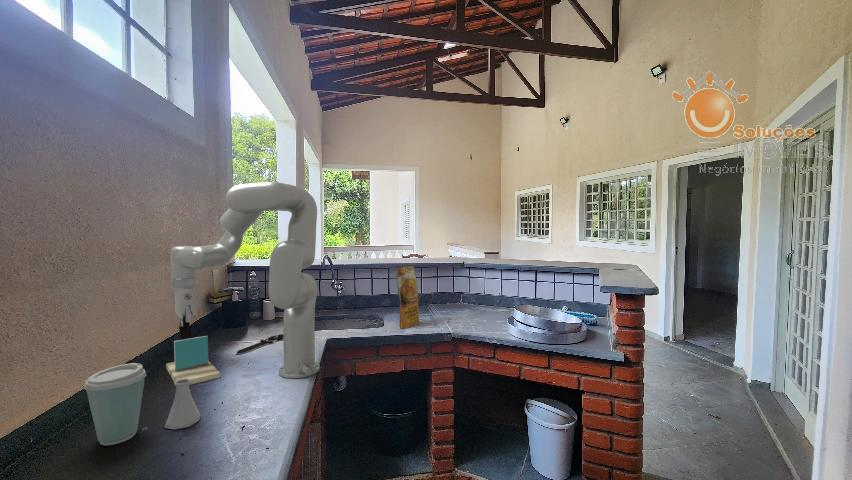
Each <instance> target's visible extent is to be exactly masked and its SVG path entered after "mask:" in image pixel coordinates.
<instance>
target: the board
mask: <svg viewBox="0 0 852 480" xmlns="http://www.w3.org/2000/svg"><path fill="white" fill-rule="evenodd" d="M165 368H166V370H167V372H168V374H169V376H170V377H171V379H172V381H173V382H174V383H175V381H177V380H180V379H186V378H187V379H191V381H190V383H189V386H191V385H195V384H201V383H203V382H208V381H212V380H216V379H220V378H221V373H220V371H219V370H218V369H217V368H216V367H215V366H214V365H213V364H212V363H211V361H209V364H206V365H202V366H197V367H192V368H188V369H183V370H178V371H175V361H172V362H168V363H165ZM174 383H173V384H174Z"/></svg>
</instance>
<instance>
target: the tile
mask: <svg viewBox="0 0 852 480" xmlns="http://www.w3.org/2000/svg"><path fill="white" fill-rule="evenodd" d="M173 351H174V354H173V355H174V362H175V371H178V370H183V369H188V368H192V367H197V366H202V365H206V364H209V362H210V361H209V337H208V335H203V336H196V337H192V338H191V337H189V338H183V339H179V340H173Z"/></svg>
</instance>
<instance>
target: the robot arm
mask: <svg viewBox="0 0 852 480" xmlns="http://www.w3.org/2000/svg"><path fill="white" fill-rule="evenodd" d="M225 203H226V206H227V207H228V209H227V210H226V211H225V212H224V213H223V214H222V216H221V217H220V218H219V223H220V226H221V227H222V228H223V230H224V234H223V235H222V237H221V238H220V239H219V240H218V241H217V242H216V243H215V244H209V245H198V246H194V245H175V246H172V248H171V249H170V288H171V289H173V290H174V309H175V315H176V316H177V317H178V321H179V323H178V324H179V326H178V332H179V333H178V336H179V339H180V340H183V339H189V338H191V337H192V317H194V318H196V317H197V316H198V307H197V304H198V303H197V301H198V300H197V293H196V288H198V286H199V279H198V278H199V277H198V275H199V271H198V270H204V269H211V268H217V267H221V266H224V265H225V264H227V263H228V262H229V261H230V260H231V259H232V258H233V257H234V256H235V255H236V253H237V252H238V251H239V250H240V248H241V246H242V244H243V241H244V235H245V233H246V232H247V231H248V230H249V229H250V228H251V227H252V225H253V224H254V223H255V222H256V221H257V220H258V219H259V218H260V216H261V215H262V214H263V213H264V212H266V211H278V212H279V211H281V212H289V213H291V217H290V219H289V221H288V226H287V240H283V241H280V242H279V243H278V244H276V245H275V246H274V247H273V249H272V252H271V254H270V258H269V272H268V273H269V275H268V296H269V300H270V302H271V303H272V305H273V306H274V307H276V308H278V309H281V310H284V311H283V312H284V313H283V335H284V337H283V365H281V366H280V367H279V368H278V375H279V376H280V377H282V378H286V379H302V378H306V377H310V376H314V375H315V374H316V373H318V372H320V369H321V366H320V364H319V363H318V362H317V361H315V360H316V358H315V357H316V352H315V350H316V346H315V345H316V343H315V342H316V328H315V327H316V324H315V323H316V318H315V317H316V303H317V302H316V301H317V295H318V285H317V281H316V280H315V278H314V277H313V276H312V275H310V274H309V273H306V272H302V270H304V269H307V268H310V267H311V266H312V265H313V264H314V262H315V259H316V241H317V222H318V207H317V202H316V200H315V198H314V197H313V196H312V194H311V193H309V191H307V190H306V189H303V188H302V187H300V186H297V185H292V184H289V183H285V182H284V183H283V182H279V181H265V182H263V181H262V182H253V183H239V184H236V185H233V186H232V187H231V188H229V190H228V191H227V193H226V194H225Z"/></svg>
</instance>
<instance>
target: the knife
mask: <svg viewBox="0 0 852 480" xmlns="http://www.w3.org/2000/svg"><path fill="white" fill-rule="evenodd" d="M282 340H283V341H284V333H282V334H276V335H272V336H269V337H268V338H266V339H260V340H259V341H260V342H257V343H255V344H253V345H252V344H251V345H250V346H246V347H243V348H241V349H239V350H237V351H236V353H235V354H234V356H238V355H244V354H247V353H249V352H251V351H255V350H257V349H260V348H262V347H264V346H267V345H273V344H274V343H275V341H276V342H280V341H282Z"/></svg>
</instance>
